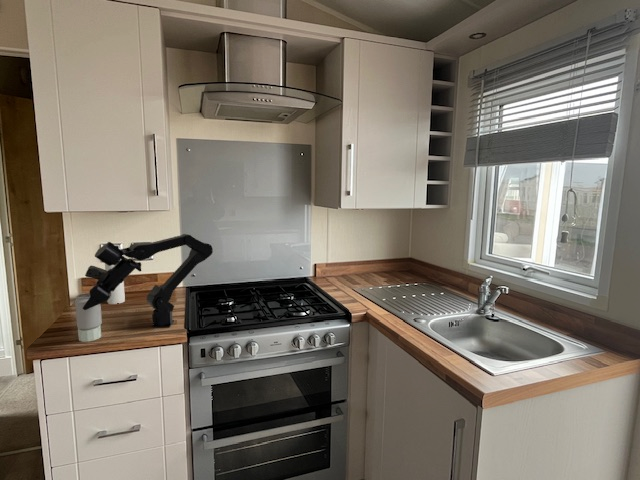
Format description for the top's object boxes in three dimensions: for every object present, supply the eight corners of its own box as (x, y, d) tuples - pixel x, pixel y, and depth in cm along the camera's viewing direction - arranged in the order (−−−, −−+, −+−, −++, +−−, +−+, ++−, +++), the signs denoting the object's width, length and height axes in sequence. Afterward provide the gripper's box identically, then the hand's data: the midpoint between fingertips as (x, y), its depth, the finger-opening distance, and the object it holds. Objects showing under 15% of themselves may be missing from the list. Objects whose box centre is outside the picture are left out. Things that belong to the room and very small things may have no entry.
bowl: (104, 333, 134) (103, 323, 133) (95, 341, 127) (94, 330, 127) (85, 334, 133) (84, 323, 133) (74, 341, 127) (73, 330, 126)
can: (73, 331, 125) (71, 298, 124) (81, 323, 132) (79, 292, 131) (98, 329, 127) (95, 296, 126) (104, 322, 134) (102, 290, 133)
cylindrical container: (103, 303, 168) (100, 250, 165) (116, 298, 175) (113, 247, 172) (116, 304, 166) (112, 251, 163) (128, 300, 173) (125, 248, 169)
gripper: (104, 253, 137) (73, 284, 134) (95, 263, 119) (58, 299, 117) (129, 272, 141) (99, 302, 138) (123, 284, 124) (88, 319, 121)
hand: (86, 305), depth 129 cm, fingers open, 9 cm apart
